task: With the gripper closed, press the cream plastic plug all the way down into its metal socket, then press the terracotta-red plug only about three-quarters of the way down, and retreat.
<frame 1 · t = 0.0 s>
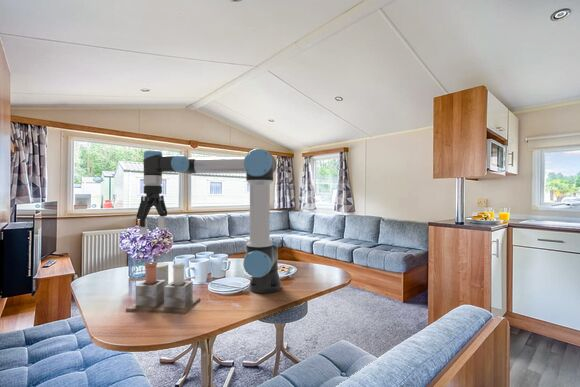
hand: (153, 232, 130), 28 cm above the table, fingers open, 13 cm apart
plug cream: (178, 276, 117), point 12 cm above the table, slide at 0.0 cm
cup: (159, 290, 135), on the table
socket board: (164, 305, 118), on the table
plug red: (150, 275, 118), point 12 cm above the table, slide at 0.0 cm
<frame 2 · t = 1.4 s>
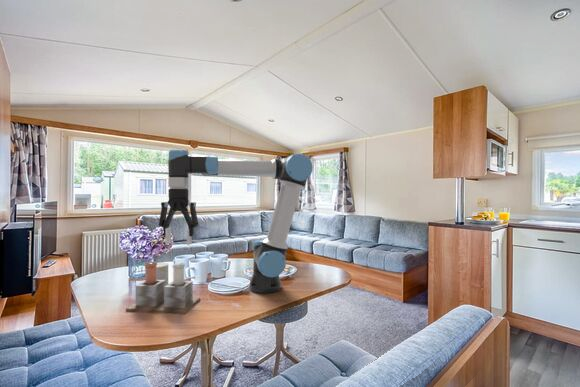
hand: (178, 244, 117), 25 cm above the table, fingers open, 8 cm apart
nothing on the table moved.
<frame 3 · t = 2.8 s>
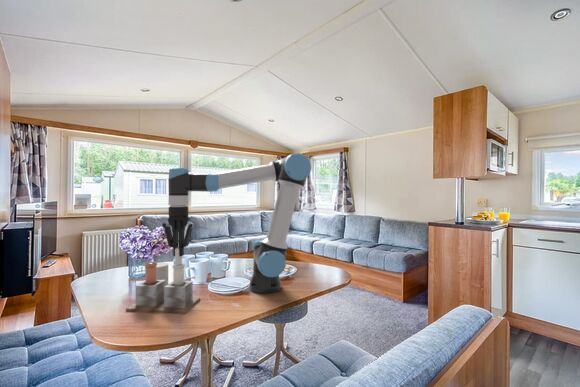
hand: (178, 263, 117), 17 cm above the table, fingers closed
plug cream: (178, 276, 117), point 12 cm above the table, slide at 0.1 cm, touching gripper
everything else where it was.
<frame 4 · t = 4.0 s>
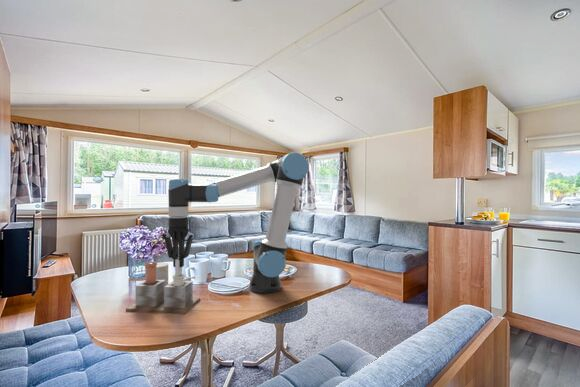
hand: (178, 274, 117), 13 cm above the table, fingers closed
plug cream: (178, 287, 117), point 7 cm above the table, slide at 4.5 cm, touching gripper
everything else where it was.
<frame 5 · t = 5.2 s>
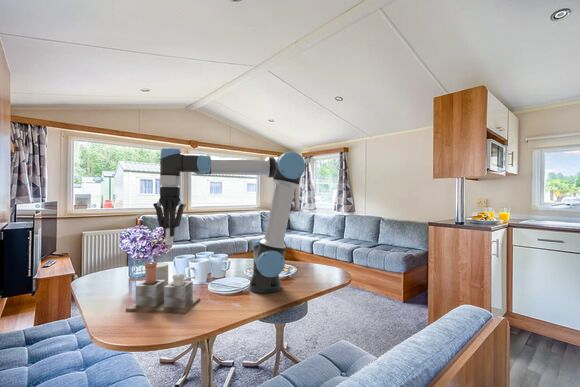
hand: (169, 244, 117), 25 cm above the table, fingers closed
plug cream: (178, 287, 117), point 7 cm above the table, slide at 4.5 cm
everything else where it was.
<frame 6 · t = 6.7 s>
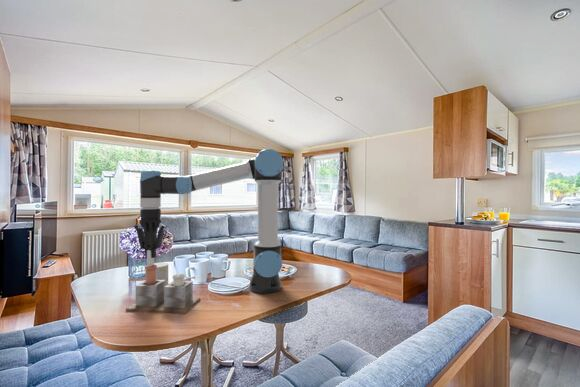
hand: (150, 265, 118), 16 cm above the table, fingers closed
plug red: (150, 278, 118), point 11 cm above the table, slide at 1.2 cm, touching gripper
everything else where it was.
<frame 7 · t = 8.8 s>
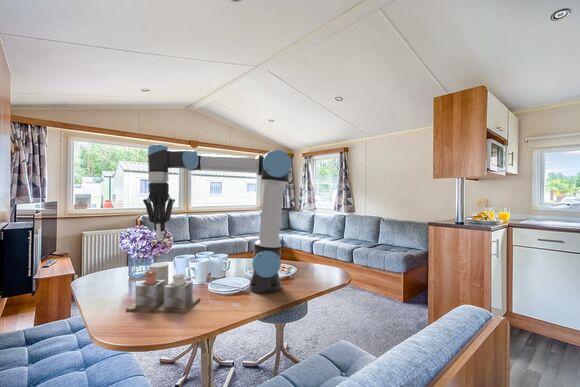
hand: (160, 238, 120), 27 cm above the table, fingers closed
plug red: (150, 284, 118), point 8 cm above the table, slide at 3.5 cm
everything else where it was.
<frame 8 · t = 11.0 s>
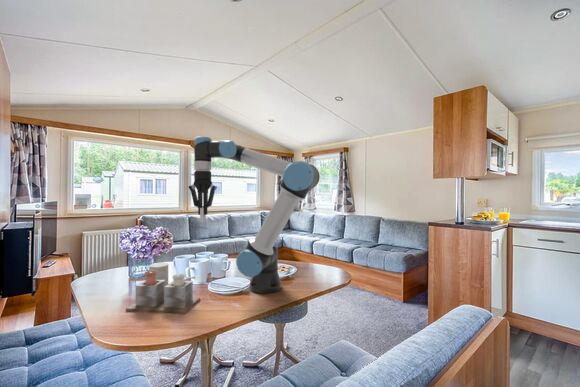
hand: (202, 221, 133), 32 cm above the table, fingers closed
nothing on the table moved.
at the end: plug cream slide at 4.5 cm; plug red slide at 3.5 cm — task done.
